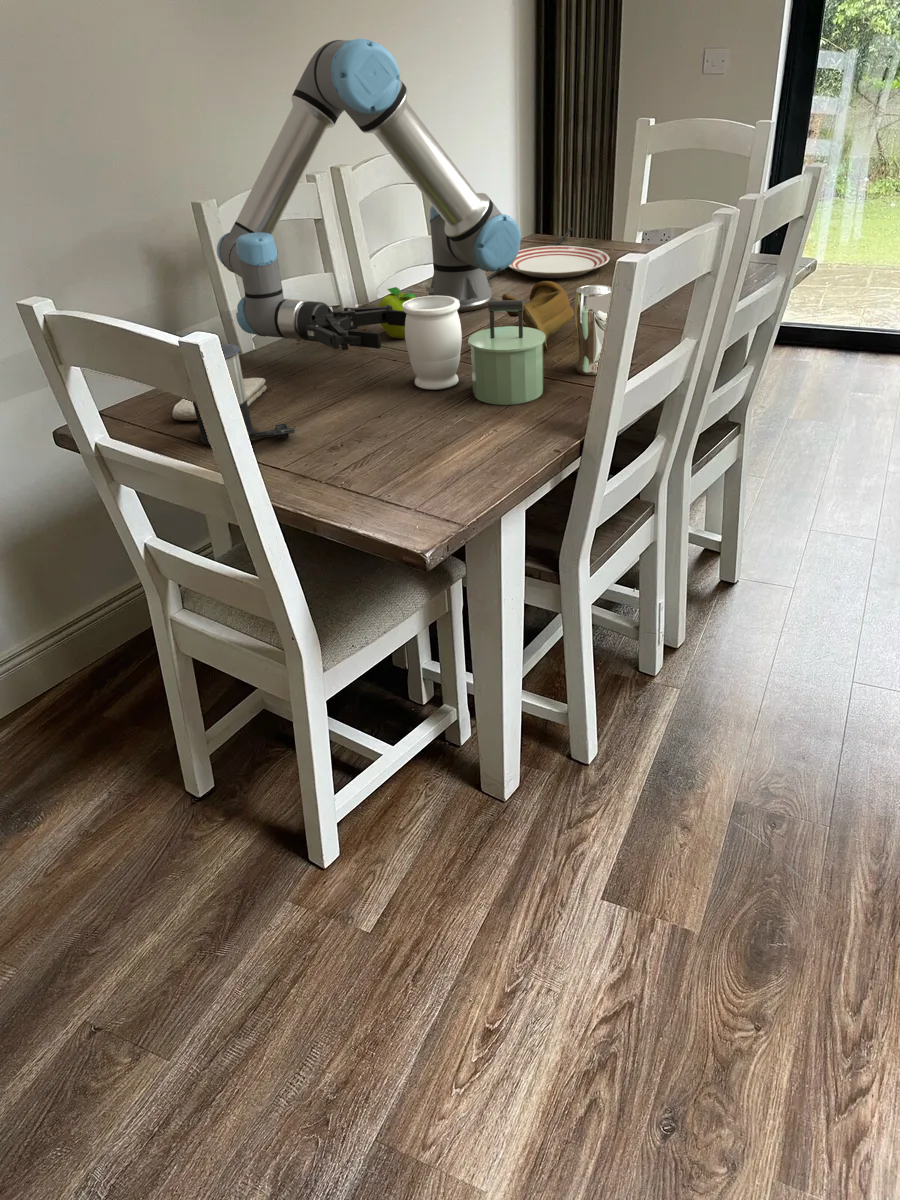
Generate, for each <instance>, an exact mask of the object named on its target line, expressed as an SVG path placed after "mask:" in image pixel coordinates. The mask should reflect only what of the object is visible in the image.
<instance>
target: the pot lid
mask: <svg viewBox="0 0 900 1200" xmlns="http://www.w3.org/2000/svg"><path fill="white" fill-rule="evenodd" d="M524 304H525V303H524V300H523V299H517V300H506V301H503V300H492V301H488V306H487V311H488V312H489V328H486V329H482V330H478V331H476V332H474V333H472V334H471V335H470V336H469V337H468V338H467V339H468V340H467V341H468V345H469V346H470V348H471V347H473V348H475V349H477V350H481V351H486V352H497V353H505V352H518V351H524V350H528V349H532V348H535V347H537V346H539V345H541V344H543V343H544V342H545V340H546V336H545V334H544V333H543V332H542V331H540V330H537V329H534V328H529V327H528V326H524V320H523V310H524ZM506 311H518V316H517V318H518V321H517V322H518V326H517V325H515V326H514V325H507V326H505V325H504V326H496V327H495V313H497V312H498V313H500V312H506Z"/></svg>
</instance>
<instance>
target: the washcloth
mask: <svg viewBox="0 0 900 1200" xmlns="http://www.w3.org/2000/svg"><path fill="white" fill-rule="evenodd" d="M243 382H244V388H245V393H246V398H247V404H248V407H249V406H250V405H251V404H252V403H254V402H255V401H256V400H257V399H258V398H259V397H261V395H262V394H263V393H265V392H266V390H267V388H268V387H267V385H265V383H266V379H265V378H264V377H249V378H243ZM181 416H182V417H183V416H184V417H185V416H186V417H193V416H196V413H195V409H194V406H193V402H191V401H188V400H185V399H183V398H182V399H181V400H179V402H177V403H176V404H175V405H174V407H173V410H172V418H173V417H181ZM173 419H174V420H177V421H188V422H191V421H192V422H193V421H197V418H173Z"/></svg>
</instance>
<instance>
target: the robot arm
mask: <svg viewBox="0 0 900 1200" xmlns="http://www.w3.org/2000/svg"><path fill="white" fill-rule="evenodd" d="M400 75H401V72H400V68H399V66H398V63H397V61H396V59H395V57H394V55H393V54H392V52H390V50H388V49H387V48H386V47H385V46H384V45H382V44H381V43H379V42H376V41H373V40H370V39H365V38H355V39H335V40H330V41H327V42H326V43H324V44H323V45H322V46H320V47H319V48H318V49H317V50H316V51H315V52H314V54H313V55H312V57H310V60H309V61H308V63H307V64H306V67H305V69H304V71H303V73H302V75H301V76H300V78H299V81H298V83H297V84H296V87H295V89H294V91H293V93H292V95H291V97H290V99H291V100H290V101H291V103H292V107H291V109H290V111H289V114H288V116H287V117H286V119H285V121H284V124H283V125H282V127H281V130H280V132H279V134H278V136H277V137H276V139H275V142H274V143H273V146H272V148H271V149H270V152H269V154H268V156H267V157H266V160H265V161H264V163H263V166H262V168H261V169H260V172H259V174H258V175H257V178H256V180H255V182H254V184H253V185H252V188H251V190H250V192H249V194H248V195H247V198H246V200H245V202H244V203H243V206H242V208H241V210H240V211H239V214H238V216H237V218H236V220H235V222H234V223H233V224H232V227H231V229H230V231H229V232H227V233H225V234H223V235H222V236H221V237H220V238H219V240H218V242H217V245H216V254H217V258H218V261H220V263H221V265H223V267H224V268H226V269H227V270H228V271H229V272H231V273H232V274H236V275H237V276H238V277H240V278H241V281H242V285H243V290H244V297H242V298H241V299H240V300H239V301H238V303H237V306H236V308H237V311H236V312H235V313H236V314H235V316H236V321H237V324H238V326H239V328H240V329H241V330H242V331H244V332H245V333H247V334H251V335H255V336H259V337H265V338H266V337H269V338H282V339H283V338H284V339H290V340H291V339H292V340H295V341H296V342H301V341H307V342H316V343H320V344H322V345H325V346H326V347H329V348H331V349H333V350H337V349H339V348H340V346H341V350H342V351H348V350H349V346H351V347H358V348H359V347H360V348H367V349H368V348H369V349H376V350H379V349H381V348H382V344H381V335H380V332H377V331H376V332H375V331H365V330H357V329H358V328H359V327H363V326H365V327H366V326H373V325H379V324H380V325H381V323H388V325H397V326H405V319H406V313H405V312H404V311H397V310H393V309H392V306H390V305H387V306H381V307H378V306H364V307H349V306H348V307H347V306H346V307H344V308H343V311H342V310H334V311H332V309H331V308H330V307H329V305H328V304H327V303H325V302H324V301H323V302H322V301H312V300H303V299H293V298H291V299H289V298H284V297H285V296H284V291H283V290H284V289H283V285H282V283H283V282H282V275H281V270H280V263H279V253H278V250H277V245H276V242H275V238H274V236H273V234H274V232H275V230H276V228H277V226H278V225H279V222H280V220H281V218H282V216H283V214H284V212H285V210H286V208H287V206H288V204H289V203H290V201H291V199H292V196H293V195H294V193H295V191H296V189H297V187H298V185H299V184H300V181H301V179H302V178H303V176H304V173H305V172H306V170H307V168H308V166H309V164H310V162H311V160H312V158H313V156H314V154H315V153H316V150H317V148H318V147H319V144H320V142H321V141H322V139H323V136H324V134H326V132H327V130H328V129H330V128H334V127H335V125H336V124H337V121H338V119H339V118H340V116H341V115H342V114H343V113H344V112H345V113H346V114H347V115H348V116H349V118H350V119H351V120H352V122H354V124H355V125H356V126H357V127H358V129H359V130H360V131H361V132H362V133H364V134H374V135H375V137H376V138H377V140H379V142H380V143H381V144H382V145H383V147H384V148H385V149H386V150H387V151H388V153H389V154H390V155H391V157H392V158H393V159H394V160H395V162H396V163H397V164H398V165H399V166H400V168H401V169H402V170H403V172H405V174H406V175H407V177H409V179H410V181H412V182H413V184H414V185H415V186H416V187H417V189H418V190H419V191H420V192H421V194H422V195H423V196H424V197H425V199H426V200H427V201H428V202H429V203H430V205H431V206H430V210H429V225H430V238H431V249H432V250H431V251H432V262H433V275H432V278H431V283H430V286H429V287H428V286H425V292H426V293H428V296H450V297H454V298H456V299H458V300H459V303H460V307H459V309H458V310H457V312H458V313H463V312H472V311H478V310H481V309H485V308H488V301H493V292H492V289H491V286H490V280H491V279H492V278H494V277H495V276H498V275H499V274H501V273H503V272H505V271H507V270H509V269H511V268H510V267H508V266H509V265H510V264H511V263H512V262H513V261H514V260H515V258H516V256H517V254H518V252H519V250H521V242H522V234H521V229H520V226H519V224H518V223H517V221H516V220H515V219H514V218H512V217H511V216H510V215H508V214H505V213H502V212H501V211H500V210H499V208H498V207H497V206H496V205H495V203H494V202H493V201H492V199H491V198H490V197H489V195H488V194H487V193H485V192H476V190H475V189H474V188H473V186H472V185H471V184H470V182H469V181H468V180H467V179H466V177H465V176H464V175H463V173H462V172H461V171H460V170H459V168H458V166H456V164H455V163H454V162H453V160H452V158H450V156H449V155H448V154H447V153H446V151H445V150H444V149H443V146H441V145H440V143H439V142H438V141H437V139H436V138H435V137H434V135H433V134H432V133H431V131H430V130H429V129H428V127H427V126H426V125H425V123H424V122H423V121H422V119H421V118H420V117H419V115H418V114H417V113H416V112H415V110H414V109H413V107H412V106H411V105H410V104H409V102H408V88H407V86H406V84H405V83H404V82H403V81H402V79H401V78H400ZM573 232H574V231H573V229H572V227H568V229H567V231H566V233H565V234H564V235H563V236H562V237H561V238H559V239H558V240H557V241H556V242H554V243H552V244H551V245H550V246H559V244H560V243H562V242H563V241H564V240H565V239H566V238H567V237H568V236H569V234H570V233H573ZM562 238H565V239H562ZM486 272H492V273H491V274H489V276H487V275H486Z"/></svg>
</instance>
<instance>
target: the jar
mask: <svg viewBox="0 0 900 1200" xmlns="http://www.w3.org/2000/svg"><path fill="white" fill-rule="evenodd" d="M459 307H460V303H459V300H458V299H456V298H454V297H450V296H429V295H424V296H423V295H422V296H418V297H415V298H413V299H410V300H408V301H406V302H404V303H403V311H404V312H405V313H406V319H405V338H404V339H405V345H406V350H407V354H408V357H409V363H410V365H411V368H412V370H413V372H414V375H416V376H415V378H414V386H416V387H417V388H420V389H423V390H431V391H432V390H433V391H435V390H437V391H438V390H445V389H449V388H452V387H454V386H456V385H457V384H458V383H459V380H460V379H459V377H458V374H457V372H458V369H459V366H460V361H461V349H462V342H463V341H462V339H463V337H462V335H463V333H462V325H461V319H460V315H459V312H457V310H458V309H459Z"/></svg>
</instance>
